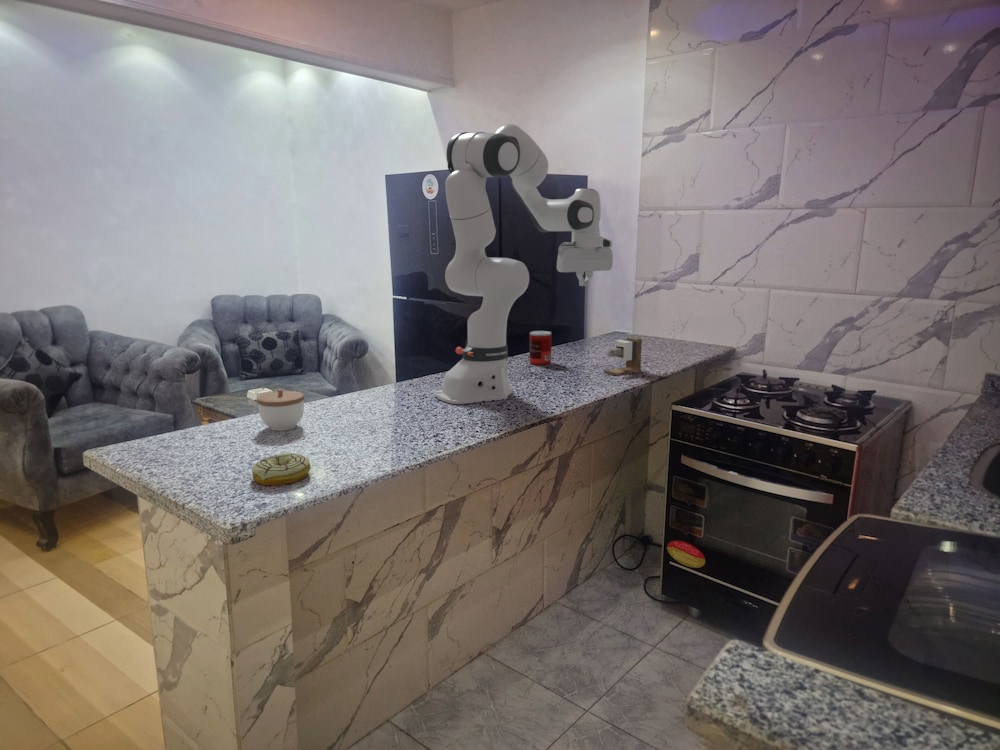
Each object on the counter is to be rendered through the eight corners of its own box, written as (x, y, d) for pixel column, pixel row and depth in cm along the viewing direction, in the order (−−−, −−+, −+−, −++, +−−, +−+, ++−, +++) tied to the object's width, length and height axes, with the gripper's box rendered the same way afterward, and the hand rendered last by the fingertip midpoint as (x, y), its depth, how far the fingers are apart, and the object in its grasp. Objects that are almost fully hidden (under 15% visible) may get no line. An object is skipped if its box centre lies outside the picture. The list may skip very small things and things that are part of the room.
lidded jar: (315, 424, 163) (312, 387, 161) (281, 436, 154) (277, 397, 152) (284, 418, 168) (282, 382, 166) (250, 429, 159) (246, 391, 157)
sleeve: (624, 361, 215) (625, 342, 214) (614, 358, 220) (614, 340, 218) (631, 360, 217) (632, 342, 216) (620, 357, 221) (621, 339, 220)
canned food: (551, 361, 238) (551, 330, 235) (550, 365, 230) (551, 334, 227) (530, 360, 238) (530, 330, 236) (528, 365, 231) (529, 334, 228)
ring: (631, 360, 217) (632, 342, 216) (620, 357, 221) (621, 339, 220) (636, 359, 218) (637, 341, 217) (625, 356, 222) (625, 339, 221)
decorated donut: (247, 475, 131) (245, 457, 130) (301, 464, 136) (300, 447, 135) (260, 492, 122) (258, 473, 121) (317, 480, 128) (316, 462, 127)
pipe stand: (613, 375, 214) (615, 342, 212) (603, 373, 218) (604, 340, 216) (641, 371, 220) (642, 338, 218) (630, 368, 224) (631, 336, 222)
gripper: (565, 242, 201) (564, 287, 204) (616, 241, 212) (614, 285, 215) (553, 241, 206) (552, 286, 209) (603, 241, 217) (602, 283, 220)
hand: (584, 285), depth 212 cm, fingers closed
